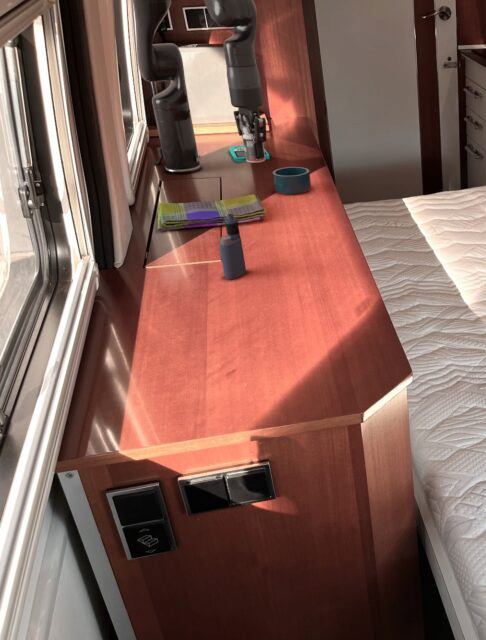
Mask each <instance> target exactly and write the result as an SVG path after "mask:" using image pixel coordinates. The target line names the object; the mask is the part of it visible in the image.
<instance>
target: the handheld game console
mask: <svg viewBox="0 0 486 640" xmlns="http://www.w3.org/2000/svg"><path fill="white" fill-rule="evenodd" d="M264 151H265V158H266V160H271V158H270V157H271V156H270V154H269V153H268V151H267V150H266V148H264ZM229 152H230V154H231V156H232V158H233V160H234V161H235V163H245V162H247V161H246V156H245V150H244V144H242V145H241V144H239V145H234V146H229Z"/></svg>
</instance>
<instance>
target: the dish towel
mask: <svg viewBox="0 0 486 640" xmlns="http://www.w3.org/2000/svg"><path fill="white" fill-rule="evenodd" d="M157 207H158V212H157V213H158V214H157V230H158V231H172V230H173V231H174V230H182V229H190V228H203V227H217V226H226V224H225V219H227V218H228V214H233V217H234V218H237V220H238V224H245V223H250V222H255V221H256V222H257V221H262V217H266V215H267V213H268V211H267V210H266V208H265V207H264V205H263V204H262V202H261V199H260V197H259V196H258V194H254V193H253V194H245V195H243V196H238V197H235V198H227V199H226V198H225V199H221V200H211V201H191V202H179V203H174V202H158V203H157Z"/></svg>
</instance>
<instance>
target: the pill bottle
mask: <svg viewBox="0 0 486 640" xmlns="http://www.w3.org/2000/svg"><path fill="white" fill-rule="evenodd" d="M251 130H255V129H251ZM243 133H245V134H244V135H243V139H242V142H243V145H244V150H245V156H246V161H245V162H247V163H253V164H257V163H263V162H265V161H266V160H267V159H266V158H265V151H264V158H263V159H256V158H255V155H254V148H253V142H252V138H251V135H249V134H248V131H247V127H245V126H244V127H243ZM254 135H255V134H254ZM264 149H265V143H263V150H264Z"/></svg>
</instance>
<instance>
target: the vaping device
mask: <svg viewBox="0 0 486 640" xmlns="http://www.w3.org/2000/svg"><path fill="white" fill-rule="evenodd" d="M225 224H226V225H225V229H226V235H223V236H220V237H219V240H220V242H219V247H218V248H219V254H220V259H221V264H222V272H223V275H224V277H225V278H226V279H227V280H236V279H237V278H240V277H241V276H243V275H244V274H246V273H247V266H246V261H245V260H246V259H245V254H244V249H243V243H242V242H243V241H242V237H241V233H240V232H241V231H240V226H239V223H238V220H237V218H234V217H233V214H228V218H227V219H225Z"/></svg>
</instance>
